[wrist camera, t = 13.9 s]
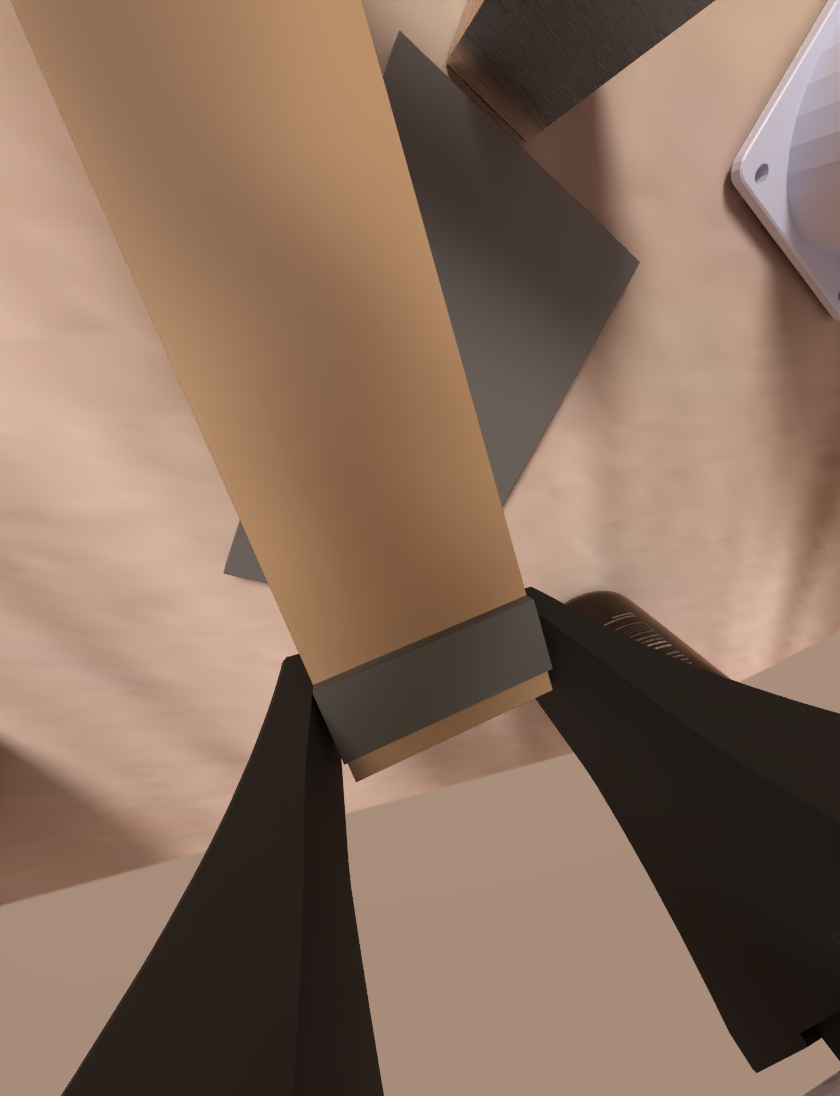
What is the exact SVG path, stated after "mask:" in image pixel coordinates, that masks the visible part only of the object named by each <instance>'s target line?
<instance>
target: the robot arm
mask: <svg viewBox="0 0 840 1096" xmlns="http://www.w3.org/2000/svg"><path fill="white" fill-rule="evenodd" d="M755 174H756V179H755ZM731 180H732V183H733V185H734V186H735V188H736V189H737V190H738V192H739V193H740V194H741V196H742V197H743V198H744V200H745V201H746V202H747V204H748V205H749V206H750V208H751V209H752V211H753V212H754V213H755V215H756V216H757V217H758V219H759V220H760V221H761V223H762V224H763V225H764V227H765V228H766V229H767V231H768V232H769V233H770V235H771V236H772V237H773V239H774V240H775V241H776V243H777V244H778V245H779V247H780V248H781V249H782V251H783V252H784V253H785V255H786V256H787V257H788V259H789V260H790V261H791V263H792V264H793V265H794V267H795V268H796V269H797V271H798V272H799V273H800V275H801V276H802V277H803V279H804V280H805V281H806V283H807V284H808V286H809V287H810V288H811V290H812V291H813V292H814V294H815V295H816V296H817V298H818V299H819V300H820V302H821V303H822V304H823V306H824V307H825V308H826V310H827V311H828V312H829V314H830V315H831V316H832V318H833V319H834V320H840V0H828V2H827V3H826V5H825V7H824V8H823V10H822V12H821V13H820V15H819V17H818V19H817V20H816V22H815V24H814V25H813V27H812V29H811V30H810V32H809V34H808V36H807V37H806V39H805V41H804V42H803V44H802V46H801V47H800V49H799V51H798V52H797V54H796V56H795V58H794V59H793V61H792V63H791V64H790V66H789V68H788V69H787V71H786V73H785V74H784V76H783V78H782V80H781V81H780V83H779V85H778V86H777V88H776V90H775V91H774V93H773V95H772V97H771V98H770V100H769V102H768V103H767V105H766V107H765V108H764V110H763V112H762V113H761V115H760V117H759V119H758V120H757V122H756V124H755V125H754V127H753V129H752V130H751V132H750V134H749V135H748V137H747V139H746V141H745V142H744V144H743V146H742V147H741V149H740V151H739V152H738V154H737V156H736V158H735V160H734V162H733V165H732V169H731ZM525 592H526V595H527V596H529V597H530V598H532V599H534V602H535V606H536V609H537V613H538V617H539V620H540V624H541V628H542V631H543V635H544V639H545V642H546V646H547V650H548V653H549V657H550V661H551V664H552V668H553V669H551V670H549V671H548V675H549V679H550V682H551V686H552V689H553V690H551V691H549V692H547V693H545V694H543V695H541V696H539V697H536V700H537V701H538V703H539V704H540V706H541V707H542V708H543V710H544V711H545V713H546V714H547V715H548V717H549V718H550V720H551V721H552V722H553V724H554V725H555V727H556V728H557V729H558V731H559V732H560V734H561V735H562V736H563V738H564V739H565V740H566V742H567V743H568V745H569V746H570V747H571V749H572V750H573V752H574V753H575V754H576V756H577V757H578V759H579V760H580V761H581V763H582V764H583V765H584V767H585V769H586V770H587V771H588V773H589V775H590V776H591V778H592V779H593V781H594V782H595V784H596V785H597V787H598V789H599V790H600V792H601V793H602V795H603V797H604V798H605V800H606V802H607V804H608V805H609V807H610V809H611V810H612V812H613V814H614V816H615V817H616V819H617V821H618V822H619V824H620V826H621V827H622V829H623V831H624V833H625V834H626V836H627V838H628V840H629V842H630V843H631V845H632V847H633V849H634V850H635V852H636V854H637V856H638V857H639V859H640V861H641V863H642V865H643V866H644V868H645V870H646V872H647V873H648V875H649V877H650V879H651V881H652V882H653V884H654V886H655V888H656V890H657V892H658V894H659V896H660V897H661V899H662V901H663V903H664V905H665V907H666V908H667V911H668V912H669V914H670V916H671V918H672V920H673V922H674V924H675V925H676V927H677V929H678V931H679V932H680V935H681V937H682V939H683V941H684V943H685V944H686V947H687V948H688V951H689V952H690V954H691V956H692V958H693V960H694V962H695V964H696V966H697V968H698V970H699V972H700V974H701V976H702V978H703V980H704V982H705V984H706V986H707V988H708V990H709V992H710V994H711V996H712V998H713V1000H714V1002H715V1004H716V1006H717V1008H718V1010H719V1012H720V1014H721V1016H722V1018H723V1020H724V1022H725V1025H726V1026H727V1029H728V1031H729V1033H730V1034H731V1036H732V1037H733V1039H734V1040H735V1042H736V1043H737V1045H738V1047H739V1048H740V1050H741V1052H742V1053H743V1054H744V1056H745V1058H746V1059H747V1061H748V1063H749V1064H750V1066H751V1067H752V1069H753V1070H754V1071H755V1072H756V1073H758V1072H760V1071H762V1070H763V1069H765V1068H767V1067H769V1066H771V1065H773V1064H775V1063H777V1062H779V1061H781V1060H783V1059H785V1058H787V1057H789V1056H791V1055H793V1054H795V1053H797V1052H799V1051H801V1050H803V1049H804V1048H806V1047H808V1046H809V1045H811V1044H813V1043H814V1042H816V1041H817V1040H819V1039H820V1038H823V1040H824V1041H825V1042H826V1044H827V1045H828V1046H829V1047H830V1049H831V1050H832V1052H833V1053H834V1054H835V1055H836V1057H837V1058H838V1059H839V1061H840V714H839V713H835V712H831V711H828V710H824V709H821V708H818V707H815V706H811V705H808V704H804V703H801V702H797V701H794V700H791V699H788V698H785V697H782V696H779V695H775V694H772V693H769V692H766V691H763V690H760V689H757V688H754V687H751V686H748V685H745V684H742V683H739V682H736V681H734V680H731V679H728V678H725V677H722V676H720V675H717V674H715V673H712V672H709V671H707V670H704V669H702V668H699V667H696V666H694V665H691V664H689V663H686V662H684V661H681V660H679V659H677V658H674V657H672V656H669V655H667V654H665V653H663V652H660V651H658V650H656V649H654V648H651V647H649V646H647V645H645V644H643V643H640V642H638V641H636V640H634V639H632V638H630V637H628V636H626V635H623V634H621V633H619V632H617V631H615V630H613V629H611V628H609V627H607V626H605V625H603V624H601V623H599V622H597V621H595V620H594V619H592V618H590V617H588V616H586V615H584V614H582V613H580V612H578V611H576V610H575V609H573V608H571V607H569V606H567V605H565V604H563V603H561V602H560V601H558V600H556V599H554V598H552V597H550V596H548V595H546V594H544V593H543V592H541V591H539V590H537V589H535V588H533V587H528V588H525ZM346 835H347V834H346V820H345V805H344V790H343V776H342V762H341V756H340V754H339V751H338V749H337V747H336V745H335V742H334V740H333V738H332V736H331V733H330V731H329V729H328V727H327V724H326V722H325V720H324V718H323V715H322V713H321V711H320V709H319V706H318V704H317V702H316V700H315V698H314V695H313V684H312V681H311V679H310V677H309V674H308V672H307V670H306V668H305V665H304V663H303V661H302V659H301V656H300V654H297V655H293V656H290V657H286V658H285V660H284V661H283V663H282V666H281V670H280V674H279V677H278V681H277V684H276V687H275V691H274V694H273V697H272V700H271V703H270V706H269V709H268V712H267V715H266V717H265V720H264V723H263V725H262V728H261V730H260V733H259V736H258V738H257V741H256V744H255V746H254V749H253V751H252V754H251V756H250V759H249V761H248V763H247V766H246V768H245V770H244V772H243V775H242V777H241V779H240V782H239V784H238V786H237V788H236V791H235V793H234V795H233V798H232V800H231V802H230V804H229V806H228V809H227V811H226V813H225V815H224V817H223V819H222V821H221V823H220V825H219V827H218V829H217V831H216V833H215V835H214V837H213V839H212V841H211V843H210V845H209V847H208V849H207V851H206V853H205V855H204V857H203V859H202V861H201V863H200V865H199V867H198V868H197V870H196V872H195V874H194V876H193V878H192V880H191V882H190V884H189V885H188V887H187V889H186V890H185V892H184V894H183V896H182V898H181V899H180V901H179V903H178V905H177V907H176V908H175V910H174V912H173V914H172V916H171V917H170V919H169V921H168V923H167V925H166V926H165V928H164V930H163V932H162V933H161V935H160V937H159V939H158V940H157V942H156V944H155V945H154V947H153V949H152V951H151V952H150V954H149V956H148V957H147V959H146V961H145V962H144V964H143V966H142V967H141V969H140V971H139V972H138V974H137V975H136V977H135V979H134V980H133V982H132V984H131V985H130V987H129V988H128V990H127V992H126V993H125V995H124V996H123V998H122V999H121V1001H120V1003H119V1004H118V1006H117V1008H116V1009H115V1011H114V1012H113V1014H112V1016H111V1017H110V1019H109V1020H108V1022H107V1024H106V1025H105V1027H104V1029H103V1030H102V1032H101V1033H100V1035H99V1036H98V1038H97V1040H96V1041H95V1043H94V1044H93V1046H92V1048H91V1049H90V1051H89V1052H88V1054H87V1056H86V1057H85V1059H84V1060H83V1062H82V1064H81V1066H80V1067H79V1068H78V1070H77V1072H76V1073H75V1075H74V1076H73V1078H72V1079H71V1081H70V1083H69V1084H68V1086H67V1087H66V1089H65V1090H64V1092H63V1093H62V1095H61V1096H384V1094H383V1088H382V1082H381V1075H380V1070H379V1064H378V1057H377V1052H376V1045H375V1039H374V1033H373V1026H372V1020H371V1014H370V1008H369V1002H368V995H367V989H366V983H365V976H364V970H363V964H362V957H361V951H360V944H359V938H358V931H357V924H356V917H355V910H354V904H353V897H352V890H351V883H350V873H349V863H348V849H347V836H346ZM803 1096H840V1071H839V1072H837V1073H836V1074H834V1075H833V1076H831V1077H830V1078H828V1079H827V1080H825V1081H824V1082H822V1083H821V1084H820V1085H818V1086H817V1087H815V1088H814V1089H812V1090H811V1091H809V1092H808V1093H806V1094H805V1095H803Z"/></svg>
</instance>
